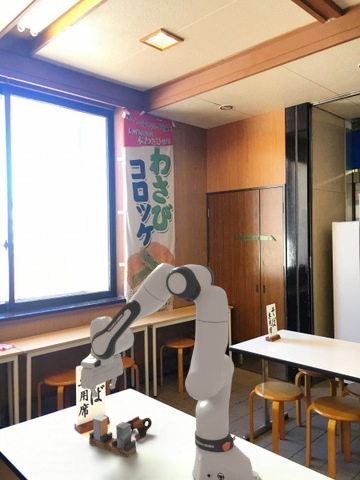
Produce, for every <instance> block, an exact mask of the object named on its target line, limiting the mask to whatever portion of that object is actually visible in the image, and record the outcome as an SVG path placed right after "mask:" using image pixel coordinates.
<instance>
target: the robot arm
mask: <svg viewBox="0 0 360 480" xmlns="http://www.w3.org/2000/svg"><path fill="white" fill-rule="evenodd" d="M214 283H215V274H214V272H213V271H212V269H211V268H210V267H209V266H207V265H205V264H202V263H201V264H200V263H196V264H193V263H192V264H191V263H190V264H189V263H188V264H185V265H180V266H177V267H175V266H174V265H172V264H170V263H168V262H167V263H166V262H165V263H160V264H158V265H157V266H156V268H154V269H153V270H152V271H151V272H150V273H149V274H148V275H147V277H146V278H145V279H144V281H143V282H142V283H141V285H140V286H139V287H138V289H137V290H136V291H135V293H134V294H133V295H132V297H130V298H129V300H128V301H127V303H125V304H124V306H123V307H122V308H121V309H120V310H119V311H118V312H117V313H116V314H115V316H114V317H113V318H112V317H111V316H108V315H106V316H105V315H104V316H99V317H95V318H93V319H92V320H91V322H90V329H89V337H90V338H89V339H90V343H91V345H90V347H91V348H90V353H89V355H87V356H86V357H85V358H83V360H82V361H81V362H80V366H81V367H82V368H81V371H80V385H81V387H82V388H83V389H87V390H90V391H91V395H92V398H96V397H98V396H99V391H96V389H97V386H99V385H101V384H104V383H106V382H109V381H110V380H111V381H110V384H109V387H108V388H109V389H110V390H114V389H115V388H116V382H117V380H118V377H120V376H122V375H123V373H124V365H123V360H122V354H121V353H122V352H124V351H127V350H129V349H130V348H132V346H133V345H134V342H135V334H134V332H133V330H132V329H131V328H130V327H131V326H132V325H133V324H134V323H135V322H138V321H139V320H141V319H143V318H145V317H147V316H150V315H153V314H154V313H156V312H157V311H159V310H160V309H161V308H162V307H163V306H164V305H165V304H166V303H167V302H168V300H169V299H170V298H171V297H172V296H173V297H175V298H178V299H181V300H184V301H185V302H188V303H192V302H194V305H195V309H196V310H195V334H194V335H195V337H194V339H195V340H194V347H193V351H192V356H191V360H190V365H189V370H188V373H187V376H186V378H185V383H184V385H185V389H186V392H187V393H188V395H189V396H190V397H191V398H193V399H194V400H196V401H197V403H196V406H195V432H194V443H195V459H194V465H193V469H192V477H193V478H194V480H261V479H260V478H261V477H260V474H259V472H257V471H255V470H253V465H252V462H251V459H250V458H249V456H247V455H246V454H245V453H244V452H243V451H242V450H241V449H240V448H239V447H238V446H237V445H236V444H235V442H234V441H236V439H237V438H236V437H237V435H236V434H234V436H233V437H232V434H231V432H230V430H229V429H230V428H229V426H230V425H229V424H230V423H229V420H230V419H229V409H230V408H229V405H230V400H231V399H230V398H231V390H232V383H233V376H234V371H235V365H234V362H233V359H232V358H231V357H230V356H229V355H227V354H226V351H227V347H228V344H229V321H230V320H229V317H230V316H229V315H230V314H229V313H230V312H229V303H228V302H229V301H228V297H227V292H226V291H225V290H224V289H223V288H222V287H220V286H217V285H214Z"/></svg>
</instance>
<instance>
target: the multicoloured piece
mask: <svg viewBox="0 0 360 480" xmlns="http://www.w3.org/2000/svg"><path fill="white" fill-rule="evenodd" d="M92 420H93V431H94V439H96V440H99V441H101V440H102V439H101V437H103V436H105V435H106V434H108V433H109V432H108V431H109V430H108V429H109V428H108V427H109V426H108V416H107V415H104V414H98V415H97V416H95V417H93V419H92Z"/></svg>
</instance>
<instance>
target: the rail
mask: <svg viewBox="0 0 360 480" xmlns="http://www.w3.org/2000/svg"><path fill="white" fill-rule="evenodd" d="M115 429H116V430H115V431H116V434H115V435H116V437H113V432H112V431H109V432H108V433H107V434H106V435H105V436H103V437H101V439H102V440H101V441H99V440H96V439H94V430H92V431H90V432H89V438H88V440H89V441H88V442H89V444H91V445H93V446H96V447H99V448H102V449H104V450H107V451H110V452H111V453H115V454H117V455H121V456H122V457H126V458H129V457H130V456H132V455H134V453H136V452H137V443H136V442H137V441H136V439H133V440H132V430H131V424H129V423H126V421H125V422H123V421H121V422H119V423H118V424H117V425H116V426H115Z"/></svg>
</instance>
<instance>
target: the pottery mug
mask: <svg viewBox="0 0 360 480" xmlns="http://www.w3.org/2000/svg"><path fill="white" fill-rule="evenodd" d="M147 422H148V423H147ZM125 423H129V424H131V432H133V431H134V430H137V432H138V433H136V434H134V438H135V439H134V440H136V442H138V441H140V440H141V439H143V438H144V439H145V437H147V432H148V431H149V429H150V428H151V427H152V423H153V422H152V420H151V418H150V417H145V418H143V419H141V418H140V416H136V417H133V418H132V419H130V420H127V421H125ZM146 423H147V425H146Z"/></svg>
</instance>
